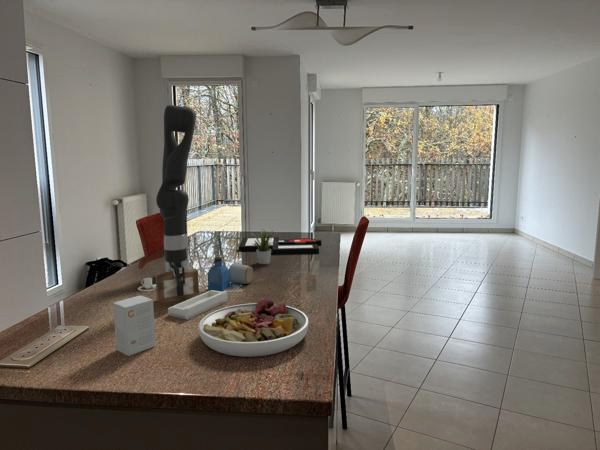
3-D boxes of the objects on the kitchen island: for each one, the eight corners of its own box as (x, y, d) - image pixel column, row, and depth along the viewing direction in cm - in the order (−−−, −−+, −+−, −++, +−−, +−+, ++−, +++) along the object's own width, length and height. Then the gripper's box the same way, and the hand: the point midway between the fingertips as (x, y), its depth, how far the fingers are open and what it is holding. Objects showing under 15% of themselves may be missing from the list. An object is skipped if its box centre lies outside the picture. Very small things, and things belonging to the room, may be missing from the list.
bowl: (298, 366, 106) (298, 335, 105) (181, 358, 111) (179, 328, 110) (314, 320, 136) (314, 296, 134) (221, 316, 140) (220, 292, 139)
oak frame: (158, 304, 152) (157, 276, 151) (156, 300, 156) (155, 273, 154) (199, 298, 159) (198, 270, 157) (196, 294, 162) (195, 268, 161)
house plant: (287, 263, 207) (286, 229, 205) (262, 268, 199) (261, 232, 197) (270, 258, 219) (269, 225, 216) (246, 262, 210) (245, 228, 208)
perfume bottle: (230, 286, 172) (229, 256, 170) (222, 291, 166) (221, 260, 164) (216, 285, 174) (215, 255, 172) (208, 289, 168) (206, 259, 166)
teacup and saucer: (165, 287, 173) (164, 277, 172) (149, 293, 166) (148, 282, 165) (149, 284, 177) (148, 275, 176) (133, 290, 170) (132, 279, 169)
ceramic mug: (246, 286, 172) (246, 266, 171) (227, 284, 175) (227, 265, 173) (257, 279, 182) (257, 261, 181) (239, 278, 184) (239, 259, 183)
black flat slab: (237, 256, 227) (324, 254, 228) (237, 250, 226) (324, 248, 228) (243, 242, 262) (319, 240, 264) (243, 237, 262) (319, 236, 264)
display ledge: (168, 315, 141) (167, 304, 140) (208, 297, 158) (208, 288, 158) (188, 319, 137) (187, 308, 137) (227, 300, 155) (227, 291, 154)
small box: (143, 340, 122) (140, 294, 120) (156, 346, 118) (153, 299, 116) (115, 350, 116) (111, 302, 114) (128, 356, 112) (124, 307, 110)
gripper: (191, 249, 150) (193, 296, 152) (181, 242, 162) (183, 285, 165) (168, 252, 146) (171, 299, 149) (160, 244, 159) (163, 288, 161)
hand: (177, 292), depth 157 cm, fingers open, 7 cm apart
